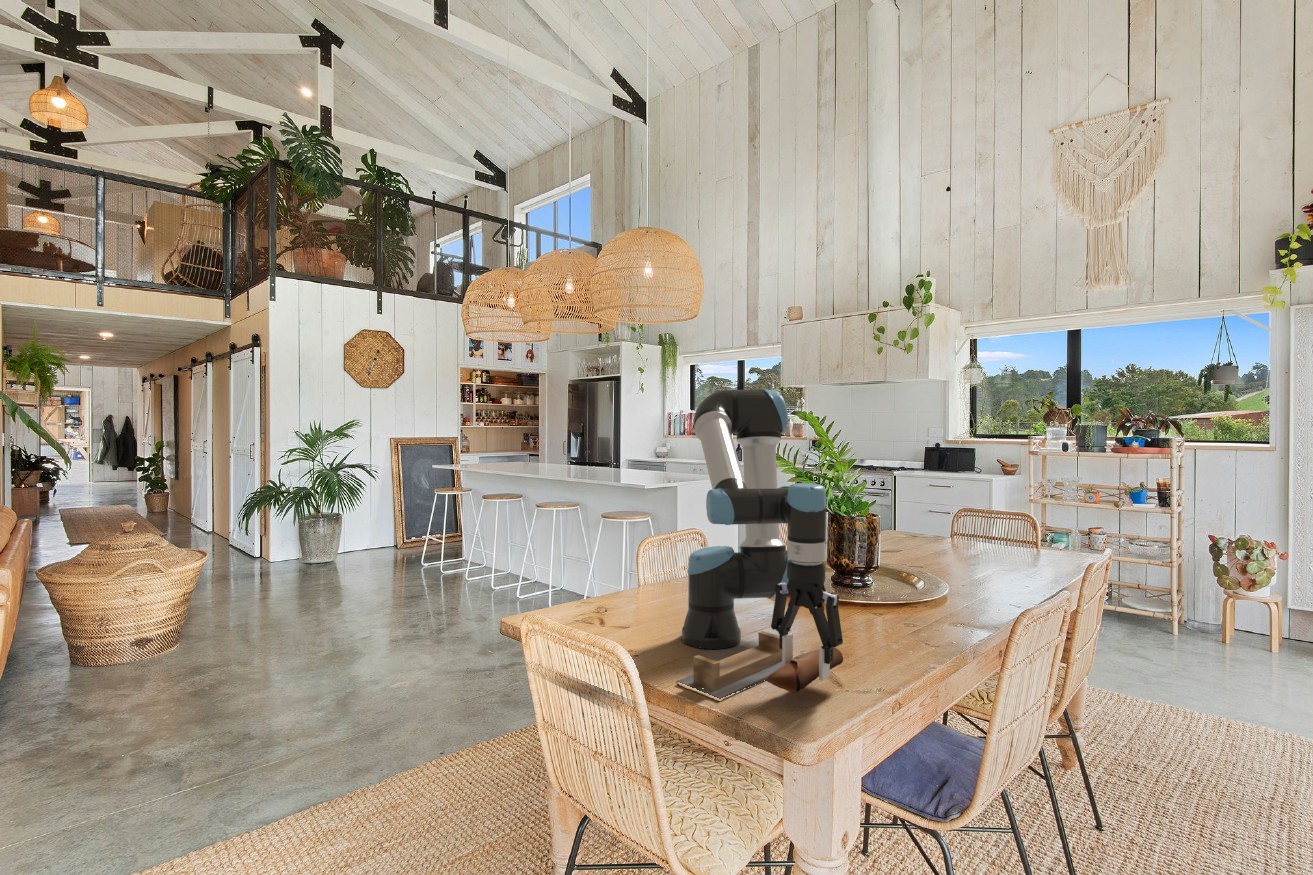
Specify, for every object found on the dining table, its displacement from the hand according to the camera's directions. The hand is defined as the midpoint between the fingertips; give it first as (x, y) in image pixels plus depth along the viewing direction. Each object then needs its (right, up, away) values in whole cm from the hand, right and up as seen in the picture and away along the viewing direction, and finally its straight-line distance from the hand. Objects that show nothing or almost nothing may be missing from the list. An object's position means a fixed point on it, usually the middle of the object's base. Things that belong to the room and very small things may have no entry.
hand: (805, 671), depth 134 cm
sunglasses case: (0, -1, 0) cm, 1 cm away
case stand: (-12, -5, +12) cm, 17 cm away
